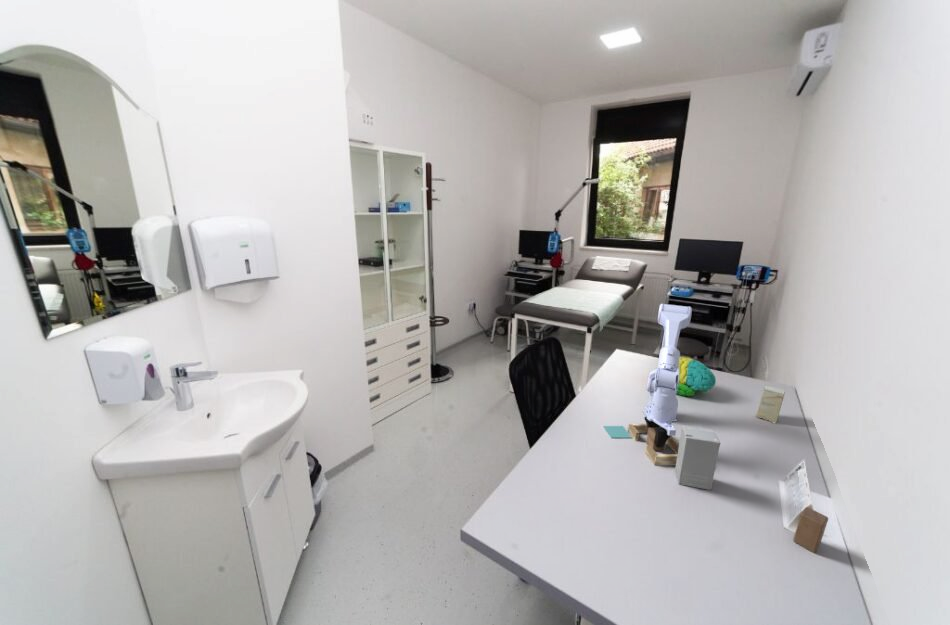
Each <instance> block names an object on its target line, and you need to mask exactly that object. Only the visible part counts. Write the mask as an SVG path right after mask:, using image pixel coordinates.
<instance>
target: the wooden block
mask: <svg viewBox="0 0 950 625" xmlns="http://www.w3.org/2000/svg"><path fill="white" fill-rule="evenodd" d="M828 521H829V517H828V516H826V515H824V514H822V513H820V512H819V511H816V510H814V509H812V508H810V507H808V506H805V507H804V509H803V511H802V512H801V513H800V516H799V520H798V523H797V526H796V529H795V533H794V536H793V542H794V543H796V544H798V545H799V546H800V547H803V548H804V549H806V550H808V551H810V552H811V553H813V554H814V553H816V552H817V551H818V549H819V547H820V545H821V542H822V540H823V537H824V534H825V530H826V527H827V525H828V523H829V522H828Z"/></svg>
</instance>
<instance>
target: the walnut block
mask: <svg viewBox="0 0 950 625" xmlns="http://www.w3.org/2000/svg"><path fill="white" fill-rule="evenodd" d="M645 443H646V446H651V447H652V448H653V450H654V451H655V452H662V451H663V452H664V451H665V450H666V449H665V448H666V444H667V443H665V445H664V447H663V448H657V447H656V433H655V429H654V427H649V428H648V433H647V435H646V442H645Z"/></svg>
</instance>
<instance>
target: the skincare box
mask: <svg viewBox="0 0 950 625" xmlns="http://www.w3.org/2000/svg"><path fill="white" fill-rule="evenodd" d="M678 443H679V449H678V455H677V461H676V465H675V468H674V472H675V474H676V475H675V476H676V479H677V483H678V485H682V486H687V487H693V488H699V489H704V490H707V491H711V489H712V486H713V480H714V475H715V470H716V467H717V461H718V456H719V450H720V446H721V442H720V439H719V437H718V436H717V433H716V432H715V430H714V429H711V428H703V427H698V426H697V427H696V426H690V425H684V424H682V426H681V432H680V436H679V442H678Z"/></svg>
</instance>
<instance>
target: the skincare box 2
mask: <svg viewBox="0 0 950 625" xmlns="http://www.w3.org/2000/svg"><path fill="white" fill-rule="evenodd" d="M785 394H786V390H785V389H781V388H776V387H774V386H768V385H764V386H763V390H762V394H761V398H760V401H759V405H758V409H757V413H756V416H757V417H760V418H763V419H766V420H765V421H767V420H769V421H768V422H770V421H772V422H771V423H773V422H775V423H774V424H777V421H778V420H779V415H780V411H781V408H782V405H783V401H784V398H785ZM757 417H756V418H757ZM760 418H759V419H760ZM763 419H762V420H763Z"/></svg>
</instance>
